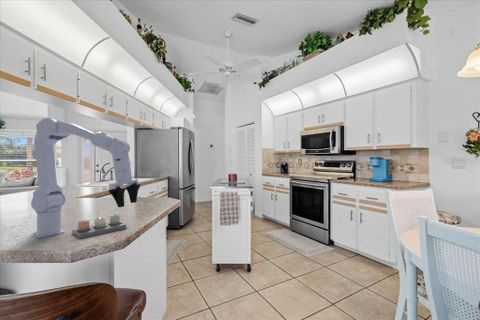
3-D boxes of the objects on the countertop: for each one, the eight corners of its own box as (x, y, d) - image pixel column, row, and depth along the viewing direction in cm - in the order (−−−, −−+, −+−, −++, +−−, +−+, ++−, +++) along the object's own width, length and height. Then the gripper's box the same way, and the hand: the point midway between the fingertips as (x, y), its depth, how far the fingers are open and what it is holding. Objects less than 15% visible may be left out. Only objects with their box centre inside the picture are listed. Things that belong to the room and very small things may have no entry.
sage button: (108, 224, 95) (108, 215, 95) (117, 222, 98) (117, 213, 98) (111, 225, 93) (111, 216, 93) (121, 223, 95) (121, 214, 95)
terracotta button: (76, 230, 87) (76, 220, 87) (87, 228, 89) (87, 218, 89) (79, 232, 84) (79, 222, 84) (90, 229, 87) (90, 220, 87)
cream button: (93, 227, 91) (93, 217, 91) (103, 225, 93) (103, 216, 93) (96, 228, 88) (96, 219, 88) (106, 226, 91) (106, 217, 91)
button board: (72, 233, 88) (72, 229, 88) (116, 224, 100) (116, 220, 100) (80, 238, 82) (80, 234, 82) (126, 228, 94) (126, 224, 94)
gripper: (119, 170, 83) (124, 207, 83) (142, 168, 97) (147, 199, 97) (101, 173, 84) (107, 209, 84) (127, 170, 98) (132, 201, 98)
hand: (127, 204), depth 90 cm, fingers open, 7 cm apart
